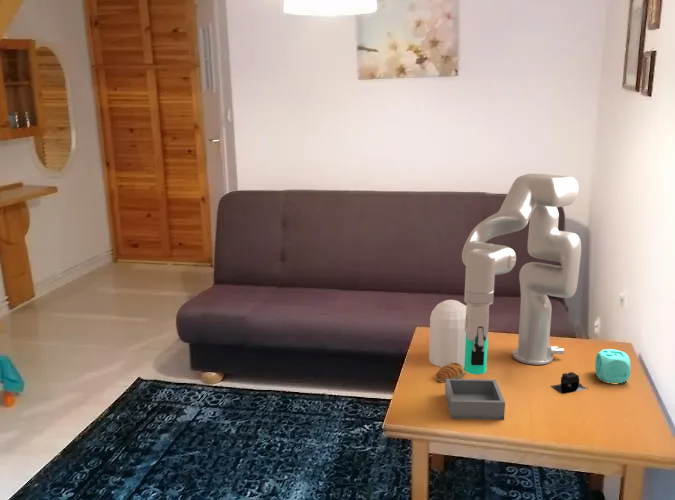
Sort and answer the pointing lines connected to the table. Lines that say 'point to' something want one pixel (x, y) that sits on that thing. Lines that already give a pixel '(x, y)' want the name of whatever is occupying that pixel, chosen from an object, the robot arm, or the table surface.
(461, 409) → the bin
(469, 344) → the candle
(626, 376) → the decorative dice
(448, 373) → the pastry
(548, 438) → the table surface
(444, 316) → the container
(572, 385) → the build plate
